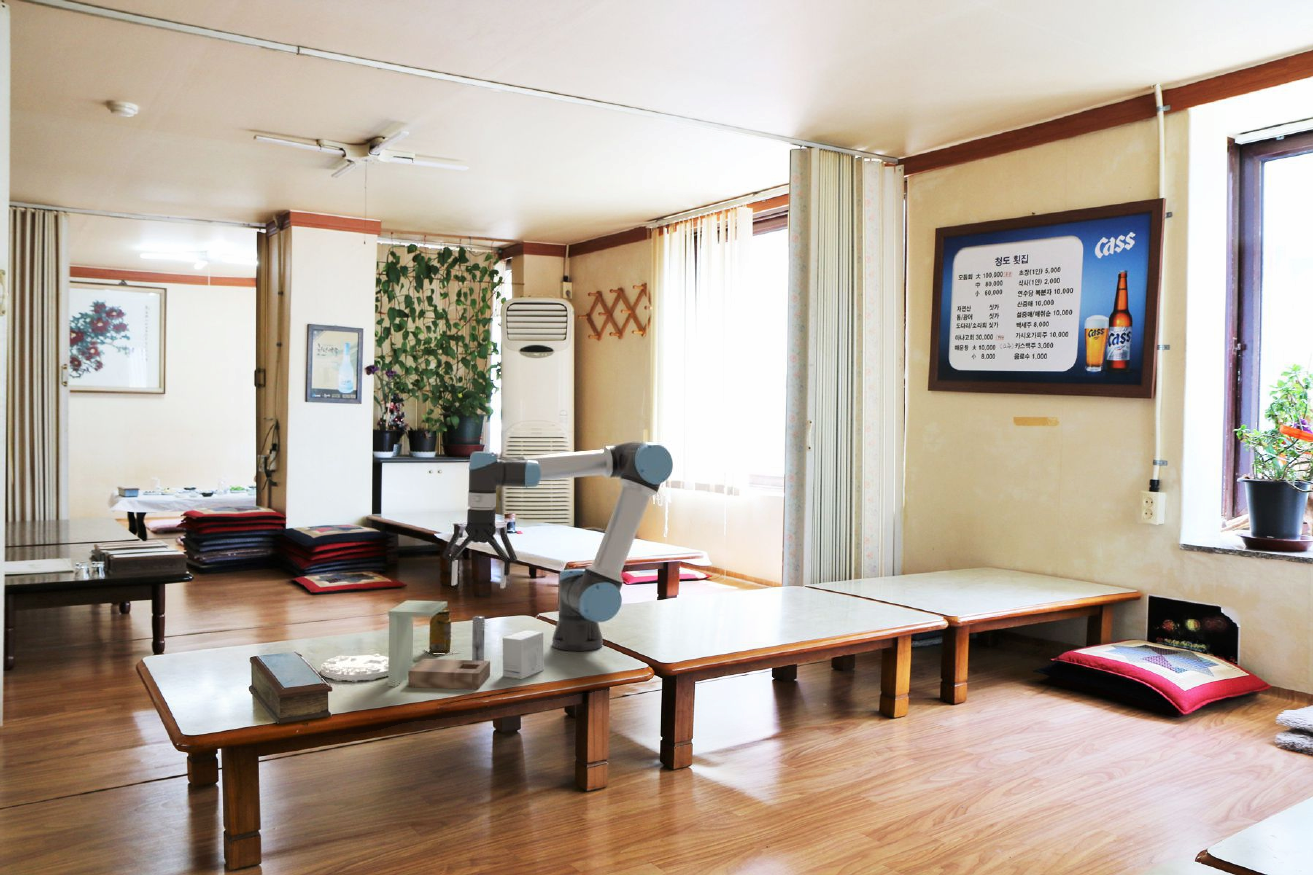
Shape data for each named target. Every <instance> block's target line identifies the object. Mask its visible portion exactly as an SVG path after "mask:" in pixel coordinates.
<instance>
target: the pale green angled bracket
mask: <svg viewBox="0 0 1313 875" xmlns="http://www.w3.org/2000/svg"><path fill="white" fill-rule="evenodd" d="M446 607H448V601H443V600H442V601H441V600H440V601H438V600H437V601H436V600H405V601H403V602H402V603H400V604H398V605H397V606H395V607H393V608H391V609H390V610H388V611H387V612H388V614H387V615H388V657H389V664H388V677H387V679H388V680H387V681H388V682H387V687H388V686H395V688H396V687H398V686H399V685H400V684H401V683H402V682H404V680H406V679H407V678H408V672H409V670H410V669H411V668H413V667H414V665H413V663H414V660H413V659H414V658H413V656H414V653H413V652H414V618H415V617H416V618H431V617H433V616H434V615H435V614H437V613H438V612H440V611H441V610H442V609H446ZM399 683H400V684H399ZM397 685H398V686H397Z"/></svg>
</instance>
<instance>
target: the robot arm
mask: <svg viewBox="0 0 1313 875" xmlns="http://www.w3.org/2000/svg"><path fill="white" fill-rule="evenodd" d="M469 456H470V457H469V458H470V459H469V465H468V492H467V495H468V496H467V507H468V509H467V515H466V516H467V519H466V525H462V524H457V525H455V526H454V532H453V533H452V534H453V535H452V537H451V538H450V539H449V540H450V541H449V542H448V544H447V545H446V548H445V549H444V551H443V553H442V555H441V557H442V558H443V559H446V560H448V573H451V586H456V585H457V584H458V570H459V560H458V559H456V558H458V556H459V555H460V554H461V553H462V552H463V551H464V550H465V549H466V547H467V546H469V545H470V544H471V543H472V542H473V543H476V544H477V543H481V544H486V543H488V545H489V546H491V547H492V549H493V550H494V552H496V554H497V555H498V557H499V558H500V559H501V560H502V562H503V563H501V565H500V567H501V568H500V584H499V586H500V587H499V588H500V589H504V588H506V587H507V586H506V584H507V577H508V576H509V575H510V572H511V564H513V563H515V562H516V561H518V557H517V555H516V553H515V550H514V547H513V545H512V543H511V540H510V539H509V536H508V533H507V532H508V531H507V530H508V529H507V527H506V526H502V527H497V526H496V509H495V508H496V507H497V489H498V488H497V487H502V488H503V487H505V488H506V487H510V488H511V487H512V488H526V489H527V488H534V487H537V486H538V485H539V483H540V482H541V481H548V480H559V479H560V480H561V479H568V478H569V479H571V478H581V477H582V478H583V477H592V476H594V477H595V476H604V478H620V479H619V480H620V482H621V485H622V487H621V490H620V493H619V495H618V498H617V500H616V503H615V506H614V508H613V511H612V514H611V517H610V519H609V522H608V524H607V527H606V529H605V532H604V534H603V537H602V539H601V542H600V544H599V546H598V550H597V553H596V555H595V558H594V560H593V563H592V564H590V565H587V566H586V567H585V568H574V569H573V568H570V569H563V570H561V571H560V572H559V574H558V575H559V576H558V578H559V579H558V618H557V623H556V626H555V629H554V631H553V635H552V641H551V645H552V647H554V648H555V649H558V650H562V651H570V652H583V651H585V652H586V651H592V650H597V649H600V648H602V646H603V645H604V644H603V643H604V642H603V639H604V638H603V635H602V632H601V628H600V624H599V623H605V622H608V621H609V620H612V619H614V617H615V616H616V615H617V614H618V613H619V611H620V609H621V608H622V603H623V602H622V601H623V600H622V598H623V597H622V594H621V589H622V586H623V584H624V580H623V577H622V572H623V569H624V566H625V564H626V561H627V559H628V555H629V553H630V551H631V549H632V548H631V547H632V545H633V543H634V541H635V537H636V535H637V531H638V529H639V527H640V525H641V521H642V519H643V517H644V515H645V511H646V509H647V506H648V503H649V501H650V498H651V497H653V496H655V495H657V494H658V491H659V489H660V487H661V484H662V483H664V482H665V481H667V480H668V479H669V478H670V476H671V475H672V473H673V468H674V462H673V457H672V455H671V454H670V451H669V450H668V449H667V448H666V447H665V446H663V445H661V444H659V443H655V442H651V441H648V442H645V441H631V442H624V443H620V444H614V445H605V446H603V447H602V448H601V449H597V450H586V451H585V450H583V451H570V452H559V453H547V454H544V453H543V454H534V455H522V456H510V457H508V456H500V457H499V456H498V452H495V451H472V453H471V454H470V455H469ZM464 531H465V533H466V534H467V536H466V537H465V539H463V541H462V542H461V543H460V544H459V546H458V547H457V548H456V549H455V550H454V547H455V546H456V543H457V542H458V541H459V538H460V537H461V534H463V533H464ZM496 533H497V535H498V536H500V539H501V541H502V544H503V547H504V548H505V550H506V552H505V551H504V549H503V548H502V546H500V544H499V542H498V540H497V539H496V538H495V537H494V536H495V535H496ZM453 550H454V551H453ZM452 551H453V552H452Z"/></svg>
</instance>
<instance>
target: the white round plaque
mask: <svg viewBox="0 0 1313 875" xmlns="http://www.w3.org/2000/svg"><path fill="white" fill-rule="evenodd" d="M388 664H389V656H385V655H381V654H380V653H375V654H373V655H371V654H370V655H368V654H366V655H362V654H361V655H348V656H347V655H337V656H335V657H334V658H333V657H329V658H328V659H326V661H324V663H322V664H321V665H320V675H322V676H324V677H325V678H329V679H332V680H333V681H336V682H341V681H342V680H343V681H347V682H349V681H352V682H354V683H357V682H358V681H365V680H369V681H375V680H376V679H379V678H384V677H387V676H388ZM340 680H341V681H340Z"/></svg>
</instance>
